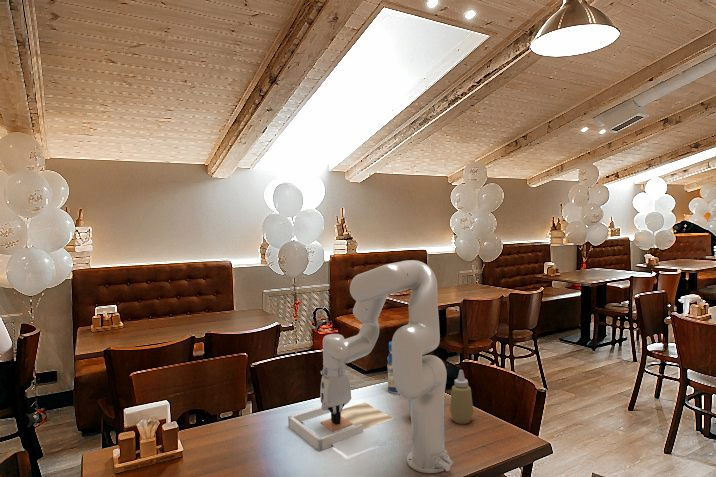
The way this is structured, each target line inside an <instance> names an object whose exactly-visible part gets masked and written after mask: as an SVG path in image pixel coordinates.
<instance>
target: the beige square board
mask: <svg viewBox="0 0 716 477" xmlns="http://www.w3.org/2000/svg"><path fill="white" fill-rule="evenodd" d="M341 416H342V417H343V418H345V419H346V420H348V421H350V422H351V423H353V425H352V426H356V425H359V424H362V425H363V431H364V430H366V429H369V428H372V427H374V426H377V425H381V424H383V423H386V422H388V421H389V422H390V421H392V420H394V419H395V418H394V417H393V416H390V415H389V414H386V413H385V412H383V411H381V410H380V409H378V408H376V407H374V406H373V405H370V404H369V403H367V402H366V401H364V402H360V403H358V404H354V405H352V406H349V407H345V408H342V412H341Z"/></svg>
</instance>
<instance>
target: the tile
mask: <svg viewBox="0 0 716 477" xmlns="http://www.w3.org/2000/svg"><path fill="white" fill-rule="evenodd" d="M340 422H341V423H340V424H337V425H336V424H334V423H333V422H332V421H331V418H329V419H324V420H321V421H320V424H321V425H323V426H324V427H326V428H327V429H329V430H330V431H331V432H335V431H336V432H337V431H340V430H343V429H344V428H345V429H346V428H349V427H352V426H354V425H353V423H351V422H350V421H348V420H346V419H345V418H343V417H342V416H341V420H340Z"/></svg>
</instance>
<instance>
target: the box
mask: <svg viewBox="0 0 716 477" xmlns="http://www.w3.org/2000/svg"><path fill="white" fill-rule="evenodd" d="M321 407H322V406H319V407H316V408H312V409H308V410H305V411H303V412H300V413H296V414H292V415H289V416H288V417H287V418H288V427H289V429H291V430H292V431H294V432H295V433H296V434H297V435H299V436H300V437H301V438H302V439H304V440H305V441H306V442H308V444H309V445H311V446H312V447H313V448H315V449H316V450H317V451H319V452H321V451H323V450H326V449H329V448H333V447H334V444H335V443H338V442H341V441H344V440H347V439H349V438H352V437H355V436H358V435H361V434H363V433H364V430H363V425H362V424H359V425H356V426H354V425H352V426H349V427H346V428H345V429H344V428H343V429H341V430H338V431H336V432H333V433H331V434H327V435H325V436H319V435H318V434H317V433H315V432H314V431H313V430H311V429H310V428H308V427H307V426H306V425H304V422H305V421H307V420H310V419H314V418H317V417H320V416H323V415H326V414H331V412H330V411H329V410H323V409H321Z"/></svg>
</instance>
